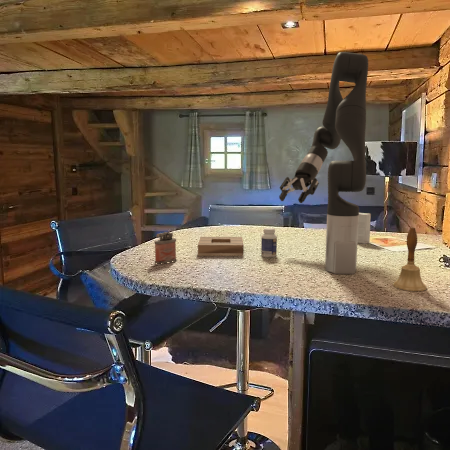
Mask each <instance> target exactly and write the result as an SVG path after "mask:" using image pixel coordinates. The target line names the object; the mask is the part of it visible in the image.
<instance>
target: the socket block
mask: <svg viewBox="0 0 450 450" xmlns="http://www.w3.org/2000/svg"><path fill="white" fill-rule="evenodd" d="M244 248H245V247H244V241H243V237H242V236H200V238H199V241H198V243H197V256H198V257H244V254H245V253H244V251H245V249H244Z"/></svg>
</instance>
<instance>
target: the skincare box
mask: <svg viewBox="0 0 450 450" xmlns="http://www.w3.org/2000/svg"><path fill="white" fill-rule="evenodd" d="M371 216H372V213H364V212H359V222H358V242H357V244H363V245H365V244H369V243H370V241H371Z"/></svg>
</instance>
